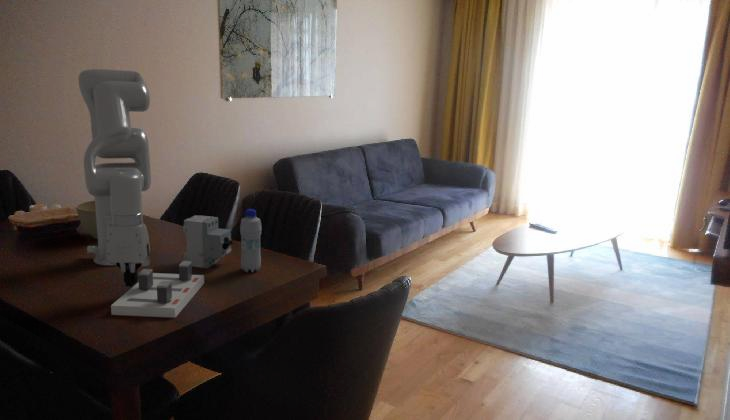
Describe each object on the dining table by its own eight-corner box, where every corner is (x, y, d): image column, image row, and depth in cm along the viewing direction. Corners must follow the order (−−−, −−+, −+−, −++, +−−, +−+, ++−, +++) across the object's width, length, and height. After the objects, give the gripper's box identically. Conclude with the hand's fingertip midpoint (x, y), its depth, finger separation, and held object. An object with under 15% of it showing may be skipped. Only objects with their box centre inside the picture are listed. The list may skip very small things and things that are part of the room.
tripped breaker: (139, 289, 143) (138, 273, 142) (144, 284, 146) (143, 268, 145) (147, 289, 143) (147, 273, 142) (153, 284, 146) (152, 269, 145)
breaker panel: (111, 314, 133) (110, 305, 133) (149, 280, 157) (149, 272, 156) (175, 317, 134) (174, 308, 133) (204, 283, 157) (203, 275, 156)
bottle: (238, 267, 171) (237, 207, 167) (259, 265, 174) (259, 206, 169) (242, 274, 165) (241, 212, 161) (263, 272, 168) (263, 211, 163)
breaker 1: (157, 302, 135) (156, 285, 134) (162, 296, 138) (162, 280, 137) (166, 302, 135) (166, 286, 134) (172, 297, 138) (171, 281, 137)
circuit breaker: (225, 270, 169) (225, 224, 165) (184, 265, 171) (183, 220, 168) (236, 263, 176) (235, 219, 172) (196, 258, 178) (195, 215, 175)
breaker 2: (179, 280, 151) (178, 265, 150) (183, 275, 154) (183, 260, 153) (187, 280, 151) (187, 265, 150) (191, 276, 154) (191, 261, 153)
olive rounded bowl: (68, 237, 195) (65, 205, 192) (113, 227, 210) (111, 197, 207) (97, 246, 186) (95, 213, 183) (143, 236, 201) (141, 204, 198)
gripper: (91, 221, 137) (96, 288, 141) (149, 224, 137) (153, 291, 141) (106, 214, 144) (110, 278, 148) (161, 217, 144) (163, 281, 148)
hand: (131, 284), depth 144 cm, fingers closed
